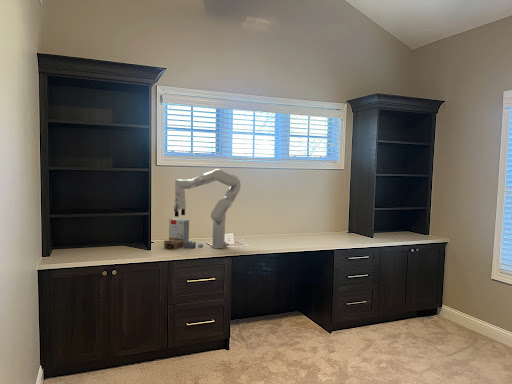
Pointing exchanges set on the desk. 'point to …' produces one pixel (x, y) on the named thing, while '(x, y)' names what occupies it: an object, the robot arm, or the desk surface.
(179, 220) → the hard drive box
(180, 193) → the robot arm
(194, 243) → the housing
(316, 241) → the desk surface
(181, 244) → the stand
